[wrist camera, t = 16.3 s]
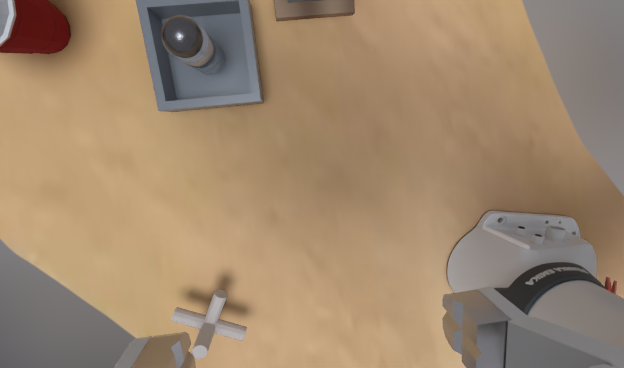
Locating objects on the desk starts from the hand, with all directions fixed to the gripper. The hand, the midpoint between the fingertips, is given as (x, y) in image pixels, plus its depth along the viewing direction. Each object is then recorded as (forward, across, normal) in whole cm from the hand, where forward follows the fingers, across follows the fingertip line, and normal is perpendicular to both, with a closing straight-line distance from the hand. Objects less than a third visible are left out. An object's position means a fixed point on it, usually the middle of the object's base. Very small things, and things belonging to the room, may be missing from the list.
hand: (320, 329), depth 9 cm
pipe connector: (+34, +14, +20) cm, 42 cm away
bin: (+34, +9, -15) cm, 38 cm away
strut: (+33, +9, -15) cm, 38 cm away
